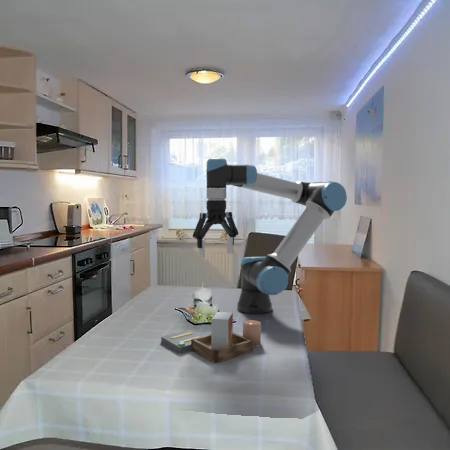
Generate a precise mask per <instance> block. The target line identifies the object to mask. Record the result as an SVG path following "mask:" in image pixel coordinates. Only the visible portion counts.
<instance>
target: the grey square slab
mask: <svg viewBox="0 0 450 450" xmlns="http://www.w3.org/2000/svg"><path fill="white" fill-rule="evenodd" d="M202 336H204V335H203V334H201V333H199V332H197V331H195V330H193V329H188V330H186V329H185V330H183V331H179V332H175V333H171V334H167V335H162V336H161V337H160V340H161V341H160V342H161V344H163V345H165V346H166V347H168V348H170V349H172V350H173V351H175V352H177V353H178V354H183V353H186V352H191V351H192V344H191V339H194V338H198V337H202Z"/></svg>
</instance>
